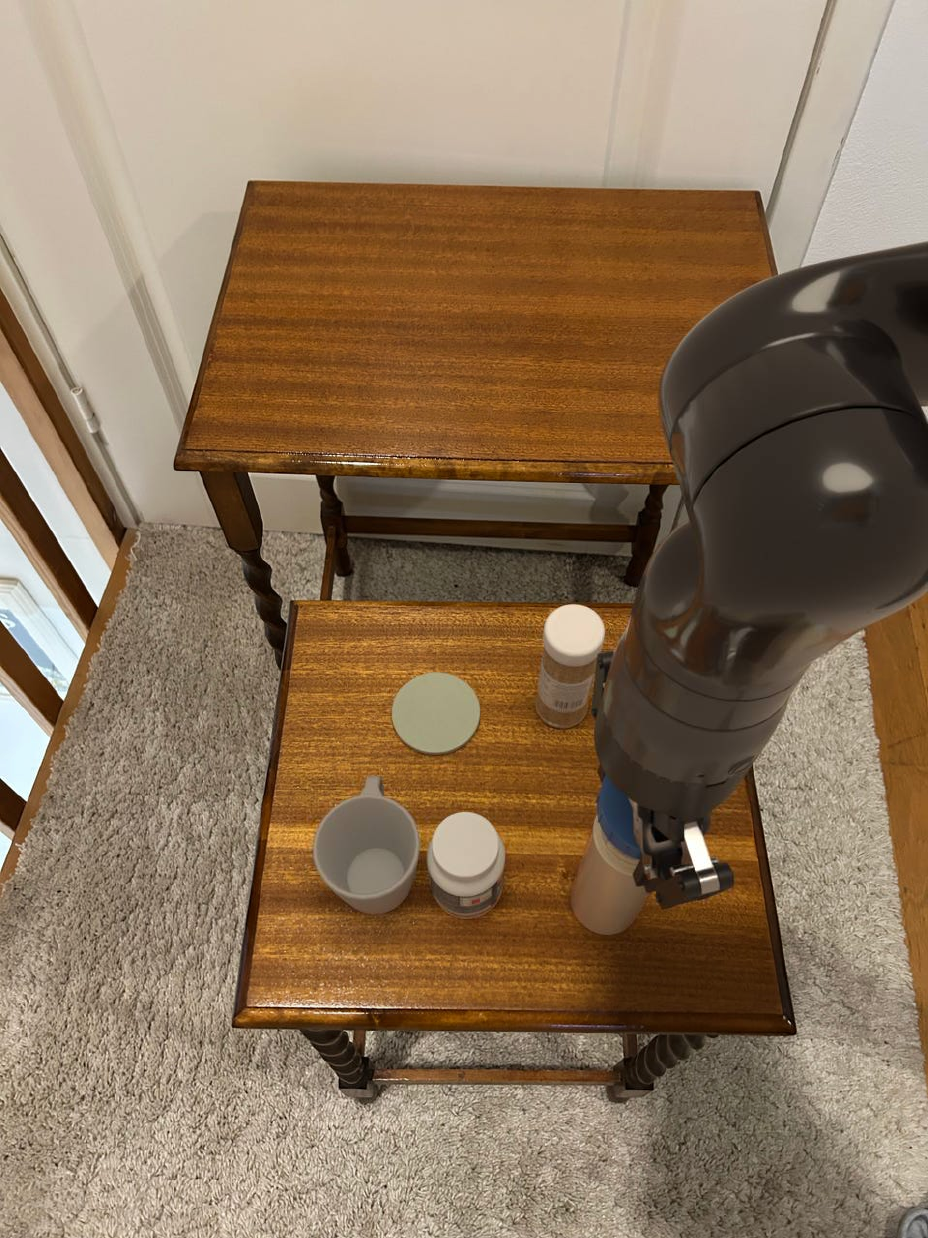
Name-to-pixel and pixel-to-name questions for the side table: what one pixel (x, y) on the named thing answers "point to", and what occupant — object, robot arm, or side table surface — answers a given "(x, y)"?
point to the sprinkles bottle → (568, 664)
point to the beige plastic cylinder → (606, 887)
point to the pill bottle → (466, 865)
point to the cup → (368, 850)
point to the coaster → (436, 713)
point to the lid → (617, 819)
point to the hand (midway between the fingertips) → (632, 825)
